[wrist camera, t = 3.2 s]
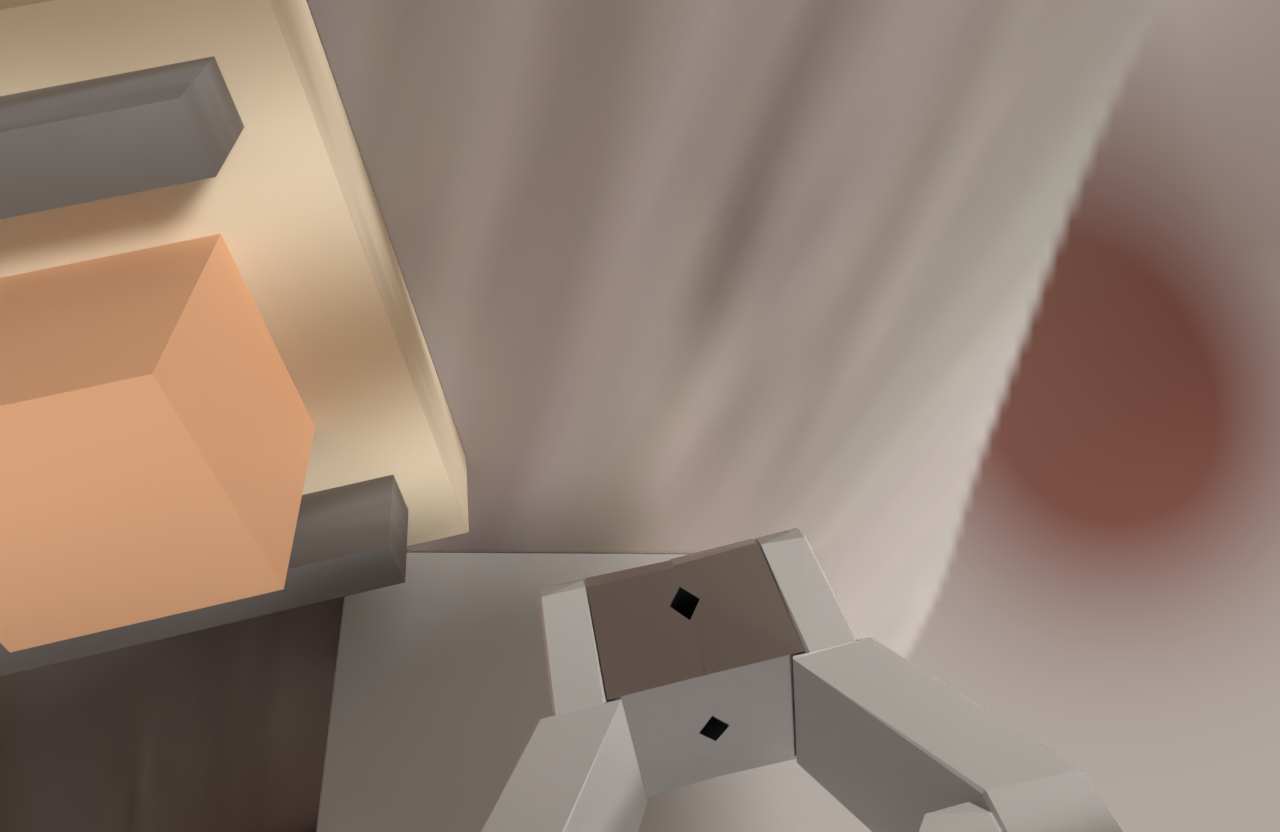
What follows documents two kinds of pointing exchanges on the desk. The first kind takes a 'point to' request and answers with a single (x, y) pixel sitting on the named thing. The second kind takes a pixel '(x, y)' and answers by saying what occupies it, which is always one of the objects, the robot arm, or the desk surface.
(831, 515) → the desk surface
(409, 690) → the jerry can
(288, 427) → the block
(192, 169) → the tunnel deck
